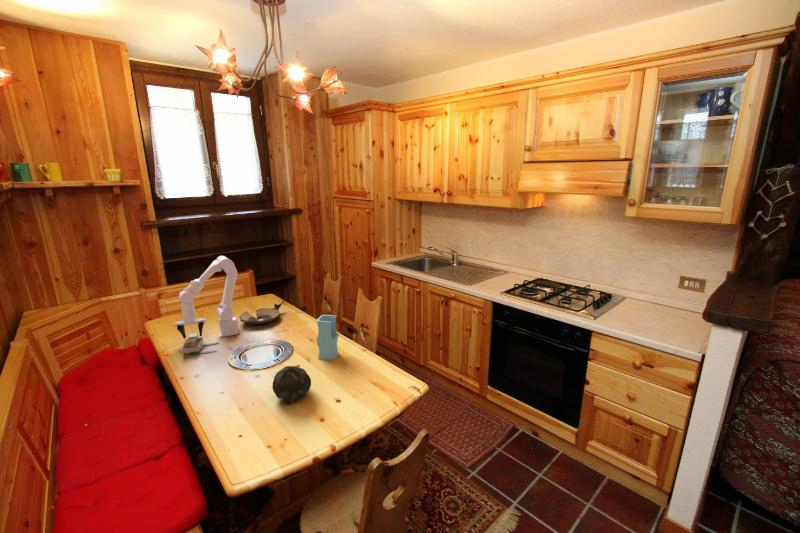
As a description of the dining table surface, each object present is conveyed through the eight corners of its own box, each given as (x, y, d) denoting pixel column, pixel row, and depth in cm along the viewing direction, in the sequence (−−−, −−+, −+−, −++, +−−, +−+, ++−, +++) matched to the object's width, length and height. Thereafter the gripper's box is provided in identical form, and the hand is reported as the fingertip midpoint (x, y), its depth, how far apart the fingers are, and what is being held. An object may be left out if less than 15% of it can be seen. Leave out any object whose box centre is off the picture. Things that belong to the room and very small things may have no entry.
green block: (199, 340, 198) (197, 333, 197) (197, 344, 194) (196, 336, 193) (190, 341, 197) (189, 334, 195) (189, 345, 193) (188, 337, 192)
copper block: (197, 346, 186) (195, 338, 185) (195, 349, 183) (194, 341, 181) (188, 347, 185) (186, 339, 184) (186, 351, 181) (185, 342, 180)
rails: (218, 342, 195) (218, 342, 195) (216, 351, 186) (216, 350, 186) (187, 347, 190) (187, 347, 190) (183, 356, 181) (183, 356, 181)
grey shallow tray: (203, 343, 193) (202, 337, 192) (200, 353, 183) (199, 346, 182) (186, 346, 190) (185, 339, 189) (182, 356, 180) (181, 349, 179)
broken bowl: (234, 321, 222) (232, 309, 220) (281, 308, 241) (280, 297, 239) (246, 333, 206) (244, 321, 204) (296, 318, 224) (295, 307, 222)
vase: (333, 360, 175) (330, 322, 170) (318, 359, 177) (315, 321, 172) (339, 352, 183) (336, 315, 177) (324, 351, 184) (321, 314, 179)
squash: (301, 367, 159) (279, 354, 148) (323, 381, 150) (301, 367, 139) (281, 398, 154) (257, 386, 143) (303, 413, 145) (279, 402, 134)
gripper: (205, 308, 197) (209, 331, 200) (174, 312, 192) (179, 335, 196) (203, 313, 190) (207, 336, 194) (171, 317, 186) (176, 341, 189)
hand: (193, 336), depth 194 cm, fingers open, 7 cm apart
